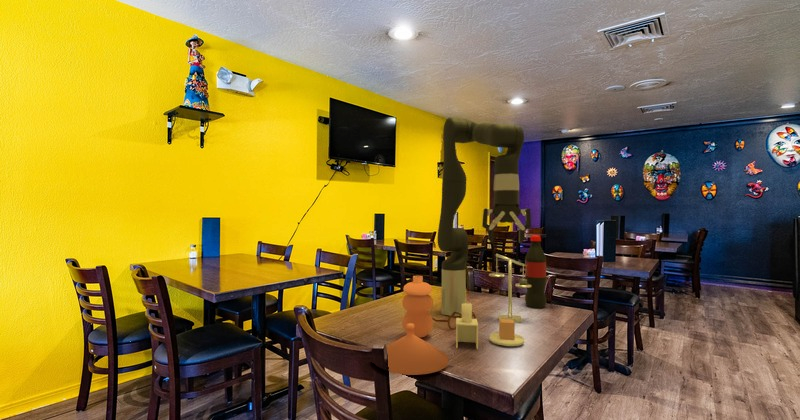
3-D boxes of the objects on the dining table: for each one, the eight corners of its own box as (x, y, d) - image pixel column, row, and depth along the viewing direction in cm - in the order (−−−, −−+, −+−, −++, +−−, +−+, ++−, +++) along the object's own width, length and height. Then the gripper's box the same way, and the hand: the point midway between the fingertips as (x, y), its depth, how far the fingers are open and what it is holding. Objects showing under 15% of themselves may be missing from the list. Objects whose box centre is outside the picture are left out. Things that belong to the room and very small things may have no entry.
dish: (491, 347, 110) (491, 342, 110) (488, 336, 120) (488, 331, 120) (526, 349, 109) (526, 343, 109) (520, 337, 119) (520, 333, 119)
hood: (456, 348, 110) (456, 306, 110) (456, 340, 116) (456, 301, 116) (477, 349, 109) (478, 307, 109) (476, 342, 115) (476, 302, 115)
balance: (489, 321, 137) (489, 254, 137) (488, 317, 142) (488, 252, 143) (532, 323, 135) (532, 255, 135) (529, 319, 140) (529, 253, 141)
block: (500, 339, 113) (500, 322, 113) (499, 335, 117) (499, 318, 117) (514, 340, 112) (514, 323, 112) (512, 335, 116) (512, 319, 116)
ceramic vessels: (449, 377, 90) (449, 298, 90) (362, 371, 93) (363, 295, 93) (450, 332, 125) (451, 275, 125) (387, 329, 128) (388, 273, 128)
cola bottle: (543, 305, 162) (543, 235, 163) (549, 310, 154) (549, 236, 154) (522, 304, 163) (523, 234, 163) (527, 309, 155) (527, 235, 155)
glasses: (449, 332, 126) (449, 317, 126) (424, 323, 136) (424, 309, 136) (476, 325, 133) (476, 311, 134) (450, 317, 144) (451, 304, 144)
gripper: (483, 188, 113) (483, 243, 113) (533, 188, 111) (533, 243, 111) (481, 190, 121) (481, 241, 121) (528, 190, 119) (528, 242, 119)
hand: (506, 242), depth 116 cm, fingers open, 8 cm apart
